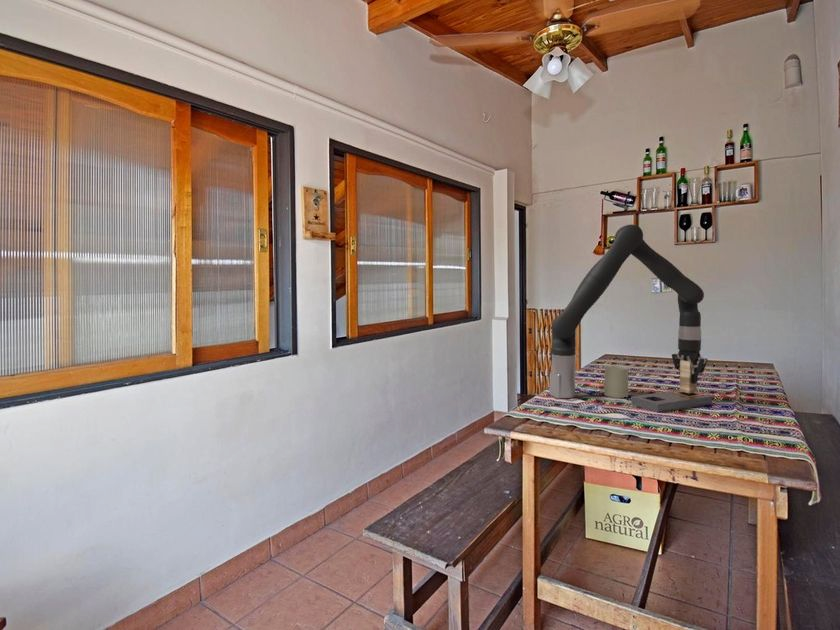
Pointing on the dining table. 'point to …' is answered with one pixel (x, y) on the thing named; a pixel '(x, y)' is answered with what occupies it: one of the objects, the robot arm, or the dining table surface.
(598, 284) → the robot arm
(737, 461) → the dining table surface
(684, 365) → the peg
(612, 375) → the can
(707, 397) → the grey slotted board
